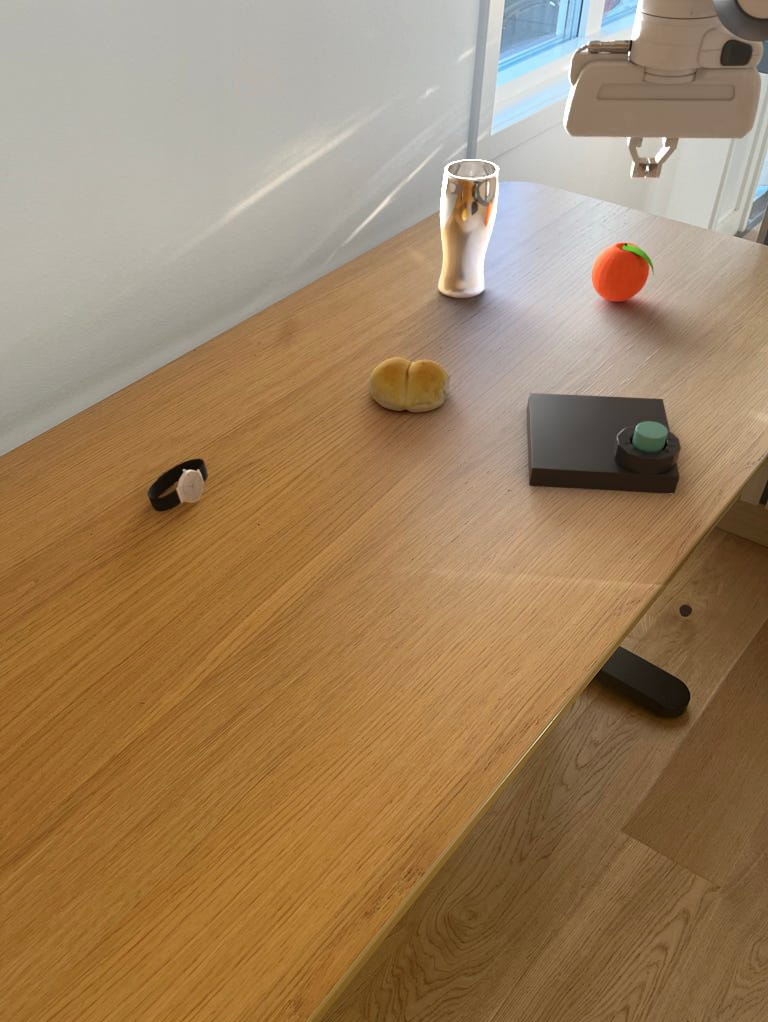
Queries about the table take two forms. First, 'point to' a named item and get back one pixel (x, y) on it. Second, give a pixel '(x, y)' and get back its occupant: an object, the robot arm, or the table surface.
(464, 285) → the beer glass
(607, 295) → the clementine
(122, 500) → the table surface
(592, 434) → the black push button box
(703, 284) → the table surface
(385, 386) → the bread roll
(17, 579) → the table surface
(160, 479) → the watch
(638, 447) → the button
